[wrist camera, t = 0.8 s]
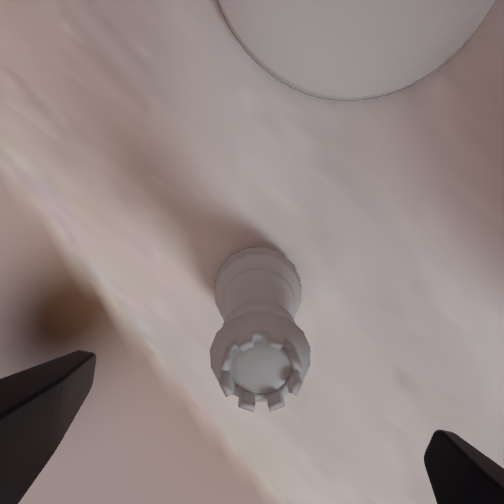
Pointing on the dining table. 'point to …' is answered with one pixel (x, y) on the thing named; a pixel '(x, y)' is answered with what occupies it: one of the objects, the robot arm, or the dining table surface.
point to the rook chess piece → (259, 329)
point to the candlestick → (352, 41)
